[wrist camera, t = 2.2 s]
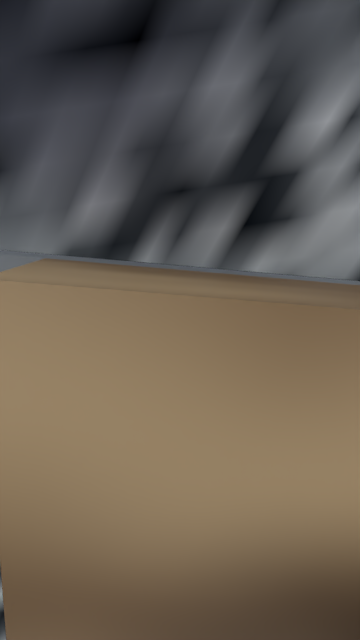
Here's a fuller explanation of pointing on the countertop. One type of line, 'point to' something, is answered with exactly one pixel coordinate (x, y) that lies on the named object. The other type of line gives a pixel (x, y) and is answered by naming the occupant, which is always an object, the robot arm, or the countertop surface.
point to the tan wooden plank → (178, 455)
